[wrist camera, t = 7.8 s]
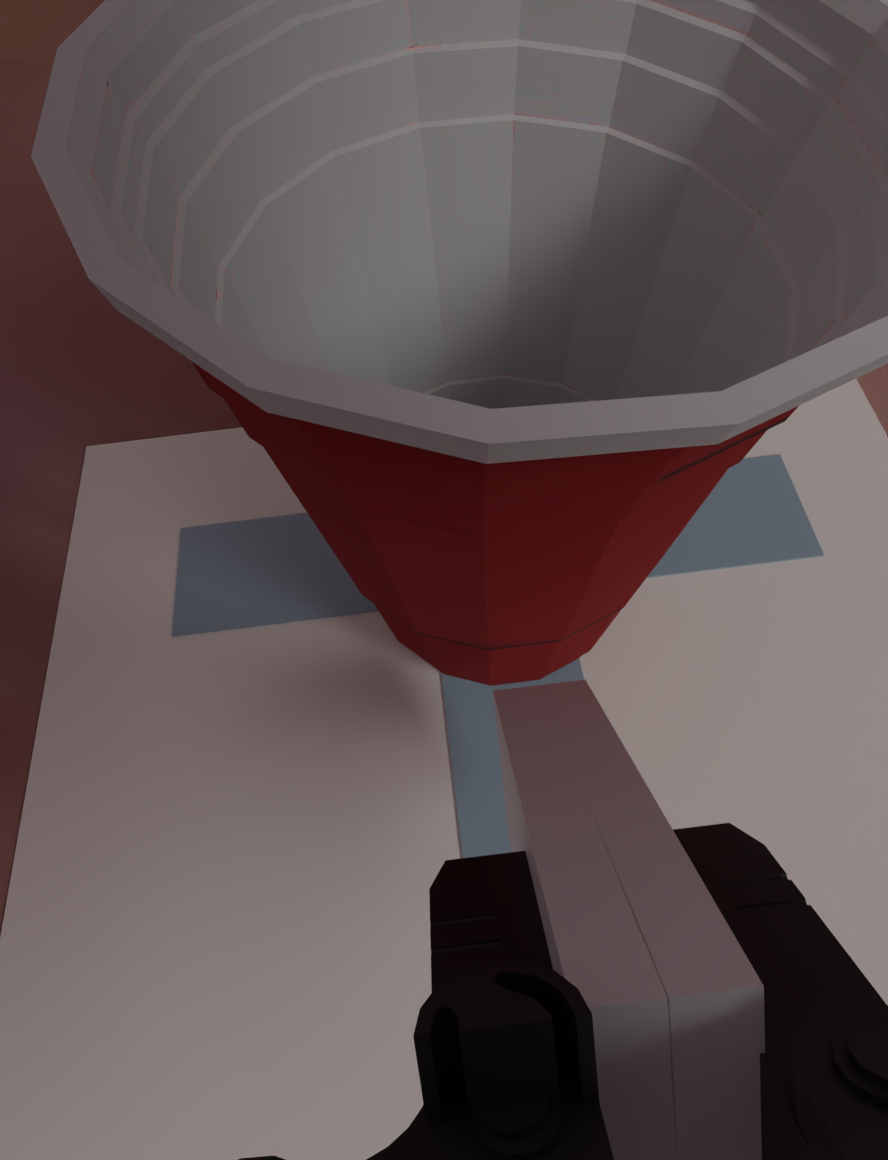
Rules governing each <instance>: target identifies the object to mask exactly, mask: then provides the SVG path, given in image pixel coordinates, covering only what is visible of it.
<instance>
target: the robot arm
mask: <svg viewBox="0 0 888 1160" xmlns="http://www.w3.org/2000/svg"><path fill="white" fill-rule="evenodd" d="M493 695H494V705H495V714H496V723H497V732H498V742H499V751H500V760H501V769H502V779H503V788H504V797H505V806H506V816H507V825H508V834H509V842H510V847H511V852H510V853H502V854H494V855H485V856H477V857H469V858H461V859H453V860H445V862H444V864H443V866H442V867H441V869H440V871H439V873H438V875H437V876H436V878H435V880H434V882H433V883H432V885H431V887H430V889H429V895H430V925H431V927H430V941H431V987H432V993H431V995H430V996H429V997H428V999H427V1000H426V1001H425V1003H424V1004H423V1005H422V1007H421V1008H420V1010H419V1015H418V1019H417V1023H416V1027H415V1031H414V1035H413V1038H414V1045H415V1051H416V1058H417V1064H418V1071H419V1077H420V1084H421V1090H422V1097H423V1103H424V1104H423V1107H422V1108H421V1110H420V1111H419V1113H418V1114H417V1116H416V1117H415V1118H414V1120H413V1121H412V1123H411V1124H410V1126H409V1127H408V1128H407V1129H406V1130H405V1131H404V1132H403V1133H402V1134H401V1135H400V1136H399V1137H398V1138H397V1139H396V1140H394V1141H393V1142H392V1143H391V1144H390V1145H389V1146H388V1147H386V1148H385V1149H383V1150H381V1151H380V1152H378V1153H376V1154H375V1155H373V1156H371V1157H370V1158H368V1159H366V1160H888V1005H887V1004H886V1003H885V1002H884V1000H883V999H882V998H881V996H880V995H879V994H878V993H877V991H876V990H875V989H874V987H873V986H872V985H871V983H870V982H869V981H868V979H867V978H866V977H865V976H864V974H863V973H862V972H861V970H860V969H859V968H858V966H857V965H856V964H855V962H854V961H853V960H852V959H851V957H850V956H849V955H848V953H847V952H846V951H845V949H844V948H843V947H842V945H841V944H840V943H839V942H838V940H837V939H836V938H835V936H834V935H833V934H832V932H831V931H830V930H829V928H828V927H827V926H826V925H825V923H824V922H823V921H822V919H821V918H820V917H819V915H818V914H817V913H816V911H815V910H814V909H813V908H812V906H811V905H807V903H806V899H805V897H804V896H803V894H802V893H801V892H800V891H799V889H798V888H797V887H796V885H795V884H794V883H793V881H792V880H788V878H787V874H786V872H785V871H784V870H783V868H782V867H781V866H780V864H779V863H778V862H777V861H776V859H775V858H774V857H773V855H772V854H771V853H770V851H769V850H768V849H767V847H766V846H765V845H764V844H762V843H761V842H759V841H758V840H756V839H754V838H753V837H751V836H750V835H748V834H747V833H745V832H743V831H742V830H740V829H739V828H737V827H735V826H734V825H732V824H731V823H723V824H714V825H706V826H698V827H690V828H682V829H674V830H673V829H672V827H671V826H670V824H669V822H668V821H667V819H666V817H665V815H664V814H663V812H662V810H661V809H660V807H659V805H658V803H657V802H656V800H655V798H654V797H653V795H652V793H651V791H650V790H649V788H648V786H647V785H646V783H645V781H644V779H643V778H642V776H641V774H640V772H639V771H638V769H637V767H636V766H635V764H634V762H633V760H632V759H631V757H630V755H629V754H628V752H627V750H626V748H625V747H624V745H623V743H622V742H621V740H620V738H619V736H618V735H617V733H616V731H615V729H614V728H613V726H612V724H611V723H610V721H609V719H608V717H607V716H606V714H605V712H604V711H603V709H602V707H601V705H600V704H599V702H598V700H597V699H596V697H595V695H594V693H593V692H592V690H591V688H590V687H589V685H588V683H587V681H586V680H578V681H569V682H561V683H553V684H545V685H536V686H528V687H520V688H512V689H504V690H495V691H493ZM238 1160H285V1159H283V1158H280V1157H277V1156H263V1157H251V1158H240V1159H238Z"/></svg>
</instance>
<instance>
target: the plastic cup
mask: <svg viewBox="0 0 888 1160" xmlns="http://www.w3.org/2000/svg"><path fill="white" fill-rule="evenodd" d="M31 158H32V160H33V162H34V164H35V167H36V169H37V171H38V173H39V175H40V177H41V179H42V181H43V183H44V186H45V188H46V190H47V192H48V194H49V196H50V198H51V200H52V202H53V205H54V207H55V209H56V211H57V213H58V215H59V217H60V219H61V221H62V224H63V226H64V228H65V230H66V232H67V234H68V236H69V238H70V240H71V243H72V245H73V247H74V249H75V251H76V253H77V255H78V257H79V259H80V262H81V264H82V266H83V268H84V270H85V272H86V274H87V276H88V278H89V280H90V281H91V282H92V283H93V284H94V285H95V286H96V287H97V289H98V290H99V291H100V292H101V293H102V294H103V295H104V296H105V297H106V299H107V300H108V301H109V302H110V303H111V304H112V305H113V306H114V307H115V308H116V310H117V311H119V312H120V313H122V314H123V315H125V316H126V317H127V318H129V319H130V320H132V321H133V322H135V323H136V324H138V325H139V326H141V327H142V328H144V329H145V330H147V331H148V332H150V333H151V334H152V335H154V336H155V337H157V338H158V339H160V340H161V341H163V342H164V343H166V344H167V345H169V346H170V347H172V348H173V349H174V350H176V351H177V352H179V353H180V354H182V355H183V356H185V357H186V358H188V359H189V360H191V361H192V363H193V364H194V366H195V367H196V369H197V370H198V372H199V373H200V375H201V377H202V378H203V380H204V381H205V383H206V384H207V386H208V387H209V388H210V389H211V390H213V391H214V392H215V393H217V394H218V395H220V396H221V397H223V398H224V399H225V400H226V402H227V404H228V405H229V407H230V408H231V410H232V411H233V413H234V415H235V416H236V418H237V419H238V421H239V422H240V424H241V425H242V427H243V429H244V430H245V432H246V433H247V435H248V436H249V437H250V438H251V439H253V440H254V441H255V442H257V443H258V444H260V445H261V446H263V447H264V449H265V450H266V452H267V453H268V455H269V456H270V458H271V459H272V461H273V462H274V464H275V465H276V467H277V468H278V470H279V471H280V473H281V474H282V476H283V477H284V479H285V480H286V482H287V483H288V485H289V486H290V488H291V489H292V491H293V492H294V494H295V495H296V497H297V498H298V500H299V501H300V503H301V504H302V506H303V507H304V509H305V510H306V512H307V513H308V515H309V516H310V518H311V519H312V521H313V522H314V524H315V525H316V527H317V528H318V530H319V531H320V533H321V534H322V536H323V537H324V539H325V540H326V541H327V543H328V544H329V546H330V547H331V549H332V550H333V552H334V553H335V555H336V556H337V558H338V559H339V561H340V562H341V564H342V565H343V567H344V568H345V570H346V571H347V573H348V574H349V576H350V577H351V579H352V580H353V582H354V583H355V585H356V586H357V588H358V589H359V591H360V592H361V594H362V595H363V596H364V597H366V598H367V599H368V600H370V601H371V602H373V603H374V605H375V606H376V608H377V609H378V611H379V612H380V614H381V615H382V617H383V619H384V620H385V622H386V623H387V625H388V626H389V628H390V629H391V631H392V633H393V634H394V636H395V637H396V639H397V640H398V641H399V642H400V643H402V644H403V645H404V646H406V647H407V648H408V649H410V650H411V651H413V652H414V653H415V654H417V655H418V656H420V657H421V658H422V659H424V660H425V661H427V662H428V663H429V664H431V665H432V666H434V667H435V668H436V669H438V670H439V671H441V672H442V673H443V674H445V675H449V676H453V677H457V678H461V679H465V680H470V681H474V682H478V683H482V684H486V685H490V686H494V685H502V684H510V683H518V682H526V681H534V680H540V679H542V678H544V677H545V676H547V675H549V674H551V673H553V672H555V671H556V670H558V669H560V668H562V667H564V666H566V665H567V664H569V663H571V662H573V661H575V660H577V659H578V658H580V657H581V656H582V655H583V654H585V653H587V652H589V651H590V650H591V649H592V648H593V646H594V645H595V644H596V642H597V641H598V640H599V638H600V637H601V636H602V635H603V633H604V632H605V631H606V629H607V628H608V627H609V625H610V624H611V623H612V622H613V620H614V619H615V618H616V616H617V615H618V614H619V612H620V611H621V609H622V608H624V607H625V605H626V604H627V603H628V602H629V600H630V599H631V598H632V596H633V595H634V594H635V592H636V591H637V590H638V589H639V587H640V586H641V585H642V583H643V582H644V581H645V579H646V578H647V577H648V575H649V574H650V573H651V572H652V570H653V569H654V568H655V566H656V565H657V564H658V562H659V561H660V560H661V559H662V557H663V556H664V555H665V553H666V552H667V551H668V549H669V548H670V547H671V545H672V544H673V543H674V541H675V540H676V538H677V537H678V536H679V534H680V533H681V532H682V530H683V529H684V528H685V526H686V525H687V524H688V522H689V521H690V520H691V518H692V517H693V516H694V514H695V513H696V512H697V510H698V509H699V508H700V506H701V505H702V504H703V502H704V501H705V500H706V498H707V497H708V496H709V494H710V493H711V492H712V490H713V489H714V488H715V486H716V485H717V484H718V482H719V481H720V480H721V478H722V477H723V476H724V474H725V473H726V472H727V470H728V469H729V468H730V467H732V466H734V465H736V464H738V463H740V462H741V461H742V459H743V458H744V457H745V456H746V455H747V453H748V452H749V451H750V450H751V449H752V448H753V446H754V445H755V444H756V443H757V442H758V441H759V439H760V438H761V437H762V436H763V435H764V434H765V432H766V431H767V430H768V429H770V428H772V427H774V426H776V425H779V424H781V423H783V422H785V421H786V420H787V419H788V418H789V416H790V415H791V414H792V413H793V412H794V411H795V410H796V409H797V408H798V407H799V405H801V404H803V403H805V402H807V401H810V400H812V399H814V398H816V397H818V396H820V395H822V394H824V393H826V392H828V391H831V390H833V389H835V388H837V387H839V386H841V385H843V384H845V383H847V382H849V381H852V380H854V379H856V378H858V377H860V376H862V375H864V374H866V373H868V372H871V371H873V370H875V369H877V368H879V367H881V366H883V365H885V364H887V363H888V0H105V1H104V2H103V3H102V4H101V5H100V6H99V7H98V8H97V9H96V10H95V11H94V12H93V13H92V14H91V15H90V16H89V17H88V18H87V19H86V20H85V21H84V22H83V23H82V24H81V25H80V26H79V27H78V28H77V29H76V30H75V31H74V32H73V33H72V34H71V35H70V36H69V37H68V38H67V39H66V40H65V41H64V42H63V43H62V44H61V45H60V46H59V47H58V48H57V52H56V56H55V60H54V64H53V68H52V72H51V76H50V80H49V84H48V88H47V92H46V96H45V101H44V105H43V109H42V113H41V117H40V121H39V125H38V129H37V133H36V137H35V141H34V145H33V150H32V154H31Z"/></svg>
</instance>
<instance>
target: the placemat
mask: <svg viewBox="0 0 888 1160" xmlns="http://www.w3.org/2000/svg"><path fill="white" fill-rule="evenodd" d="M578 680H586V681H587V683H588V685H589V687H590V688H591V690H592V692H593V693H594V695H595V697H596V699H597V700H598V702H599V704H600V705H601V707H602V709H603V711H604V712H605V714H606V716H607V717H608V719H609V721H610V723H611V724H612V726H613V728H614V729H615V731H616V733H617V735H618V736H619V738H620V740H621V742H622V743H623V745H624V747H625V748H626V750H627V752H628V754H629V755H630V757H631V759H632V760H633V762H634V764H635V766H636V767H637V769H638V771H639V772H640V774H641V776H642V778H643V779H644V781H645V783H646V785H647V786H648V788H649V790H650V791H651V793H652V795H653V797H654V798H655V800H656V802H657V803H658V805H659V807H660V809H661V810H662V812H663V814H664V815H665V817H666V819H667V821H668V822H669V824H670V826H671V827H672V829H673V830H674V829H682V828H690V827H698V826H706V825H714V824H723V823H731V824H732V825H734V826H735V827H737V828H739V829H740V830H742V831H743V832H745V833H747V834H748V835H750V836H751V837H753V838H754V839H756V840H758V841H759V842H761V843H762V844H764V845H765V846H766V847H767V849H768V850H769V851H770V853H771V854H772V855H773V857H774V858H775V859H776V861H777V862H778V863H779V864H780V866H781V867H782V868H783V870H784V871H785V872H786V874H787V878H788V880H792V881H793V883H794V884H795V885H796V887H797V888H798V889H799V891H800V892H801V893H802V894H803V896H804V897H805V899H806V903H807V905H811V906H812V908H813V909H814V910H815V911H816V913H817V914H818V915H819V917H820V918H821V919H822V921H823V922H824V923H825V925H826V926H827V927H828V928H829V930H830V931H831V932H832V934H833V935H834V936H835V938H836V939H837V940H838V942H839V943H840V944H841V945H842V947H843V948H844V949H845V951H846V952H847V953H848V955H849V956H850V957H851V959H852V960H853V961H854V962H855V964H856V965H857V966H858V968H859V969H860V970H861V972H862V973H863V974H864V976H865V977H866V978H867V979H868V981H869V982H870V983H871V985H872V986H873V987H874V989H875V990H876V991H877V993H878V994H879V995H880V996H881V998H882V999H883V1000H884V1002H885V1003H886V1004H887V1005H888V437H887V435H886V433H885V431H884V429H883V427H882V426H881V424H880V422H879V420H878V418H877V416H876V414H875V413H874V411H873V409H872V407H871V405H870V403H869V401H868V400H867V398H866V396H865V394H864V392H863V390H862V389H861V387H860V385H859V383H858V381H857V379H854V380H852V381H849V382H847V383H845V384H843V385H841V386H839V387H837V388H835V389H833V390H831V391H828V392H826V393H824V394H822V395H820V396H818V397H816V398H814V399H812V400H810V401H807V402H805V403H803V404H801V405H799V407H798V408H797V409H796V410H795V411H794V412H793V413H792V414H791V415H790V416H789V418H788V419H787V420H786V421H785V422H783V423H781V424H779V425H776V426H774V427H772V428H770V429H768V430H767V431H766V432H765V434H764V435H763V436H762V437H761V438H760V439H759V441H758V442H757V443H756V444H755V445H754V446H753V448H752V449H751V450H750V451H749V452H748V453H747V455H746V456H745V457H744V458H743V459H742V461H741V462H740V463H738V464H736V465H734V466H732V467H730V468H729V469H728V470H727V472H726V473H725V474H724V476H723V477H722V478H721V480H720V481H719V482H718V484H717V485H716V486H715V488H714V489H713V490H712V492H711V493H710V494H709V496H708V497H707V498H706V500H705V501H704V502H703V504H702V505H701V506H700V508H699V509H698V510H697V512H696V513H695V514H694V516H693V517H692V518H691V520H690V521H689V522H688V524H687V525H686V526H685V528H684V529H683V530H682V532H681V533H680V534H679V536H678V537H677V538H676V540H675V541H674V543H673V544H672V545H671V547H670V548H669V549H668V551H667V552H666V553H665V555H664V556H663V557H662V559H661V560H660V561H659V562H658V564H657V565H656V566H655V568H654V569H653V570H652V572H651V573H650V574H649V575H648V577H647V578H646V579H645V581H644V582H643V583H642V585H641V586H640V587H639V589H638V590H637V591H636V592H635V594H634V595H633V596H632V598H631V599H630V600H629V602H628V603H627V604H626V605H625V607H624V608H622V609H621V611H620V612H619V614H618V615H617V616H616V618H615V619H614V620H613V622H612V623H611V624H610V625H609V627H608V628H607V629H606V631H605V632H604V633H603V635H602V636H601V637H600V638H599V640H598V641H597V642H596V644H595V645H594V646H593V648H592V649H591V650H590V651H589V652H587V653H585V654H583V655H582V656H581V657H580V658H578V659H577V660H575V661H573V662H571V663H569V664H567V665H566V666H564V667H562V668H560V669H558V670H556V671H555V672H553V673H551V674H549V675H547V676H545V677H544V678H542V679H540V680H534V681H526V682H518V683H510V684H502V685H494V686H490V685H486V684H482V683H478V682H474V681H470V680H465V679H461V678H457V677H453V676H449V675H445V674H443V673H442V672H441V671H439V670H438V669H436V668H435V667H434V666H432V665H431V664H429V663H428V662H427V661H425V660H424V659H422V658H421V657H420V656H418V655H417V654H415V653H414V652H413V651H411V650H410V649H408V648H407V647H406V646H404V645H403V644H402V643H400V642H399V641H398V640H397V639H396V637H395V636H394V634H393V633H392V631H391V629H390V628H389V626H388V625H387V623H386V622H385V620H384V619H383V617H382V615H381V614H380V612H379V611H378V609H377V608H376V606H375V605H374V603H373V602H371V601H370V600H368V599H367V598H366V597H364V596H363V595H362V594H361V592H360V591H359V589H358V588H357V586H356V585H355V583H354V582H353V580H352V579H351V577H350V576H349V574H348V573H347V571H346V570H345V568H344V567H343V565H342V564H341V562H340V561H339V559H338V558H337V556H336V555H335V553H334V552H333V550H332V549H331V547H330V546H329V544H328V543H327V541H326V540H325V539H324V537H323V536H322V534H321V533H320V531H319V530H318V528H317V527H316V525H315V524H314V522H313V521H312V519H311V518H310V516H309V515H308V513H307V512H306V510H305V509H304V507H303V506H302V504H301V503H300V501H299V500H298V498H297V497H296V495H295V494H294V492H293V491H292V489H291V488H290V486H289V485H288V483H287V482H286V480H285V479H284V477H283V476H282V474H281V473H280V471H279V470H278V468H277V467H276V465H275V464H274V462H273V461H272V459H271V458H270V456H269V455H268V453H267V452H266V450H265V449H264V447H263V446H261V445H260V444H258V443H257V442H255V441H254V440H253V439H251V438H250V437H249V436H248V435H247V433H246V432H245V430H244V429H243V427H240V428H232V429H223V430H215V431H207V432H199V433H191V434H183V435H175V436H166V437H158V438H150V439H142V440H134V441H126V442H117V443H109V444H101V445H93V446H87V447H86V452H85V458H84V464H83V469H82V475H81V481H80V486H79V492H78V498H77V503H76V509H75V515H74V521H73V526H72V532H71V538H70V543H69V549H68V555H67V560H66V566H65V572H64V577H63V583H62V589H61V594H60V600H59V606H58V612H57V617H56V623H55V629H54V634H53V640H52V646H51V651H50V657H49V663H48V668H47V674H46V680H45V686H44V691H43V697H42V703H41V708H40V714H39V720H38V725H37V731H36V737H35V742H34V748H33V754H32V759H31V765H30V771H29V777H28V782H27V788H26V794H25V799H24V805H23V811H22V816H21V822H20V828H19V833H18V839H17V845H16V851H15V856H14V862H13V868H12V873H11V879H10V885H9V890H8V896H7V902H6V907H5V913H4V919H3V924H2V930H1V936H0V1160H238V1159H240V1158H251V1157H263V1156H277V1157H280V1158H283V1159H285V1160H366V1159H368V1158H370V1157H371V1156H373V1155H375V1154H376V1153H378V1152H380V1151H381V1150H383V1149H385V1148H386V1147H388V1146H389V1145H390V1144H391V1143H392V1142H393V1141H394V1140H396V1139H397V1138H398V1137H399V1136H400V1135H401V1134H402V1133H403V1132H404V1131H405V1130H406V1129H407V1128H408V1127H409V1126H410V1124H411V1123H412V1121H413V1120H414V1118H415V1117H416V1116H417V1114H418V1113H419V1111H420V1110H421V1108H422V1107H423V1104H424V1103H423V1097H422V1090H421V1084H420V1077H419V1071H418V1064H417V1058H416V1051H415V1045H414V1038H413V1035H414V1031H415V1027H416V1023H417V1019H418V1015H419V1010H420V1008H421V1007H422V1005H423V1004H424V1003H425V1001H426V1000H427V999H428V997H429V996H430V995H431V993H432V987H431V941H430V927H431V925H430V895H429V889H430V887H431V885H432V883H433V882H434V880H435V878H436V876H437V875H438V873H439V871H440V869H441V867H442V866H443V864H444V862H445V860H453V859H461V858H469V857H477V856H485V855H494V854H502V853H510V852H511V847H510V842H509V834H508V825H507V816H506V806H505V797H504V788H503V779H502V769H501V760H500V751H499V742H498V732H497V723H496V714H495V705H494V695H493V691H495V690H504V689H512V688H520V687H528V686H536V685H545V684H553V683H561V682H569V681H578Z"/></svg>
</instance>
